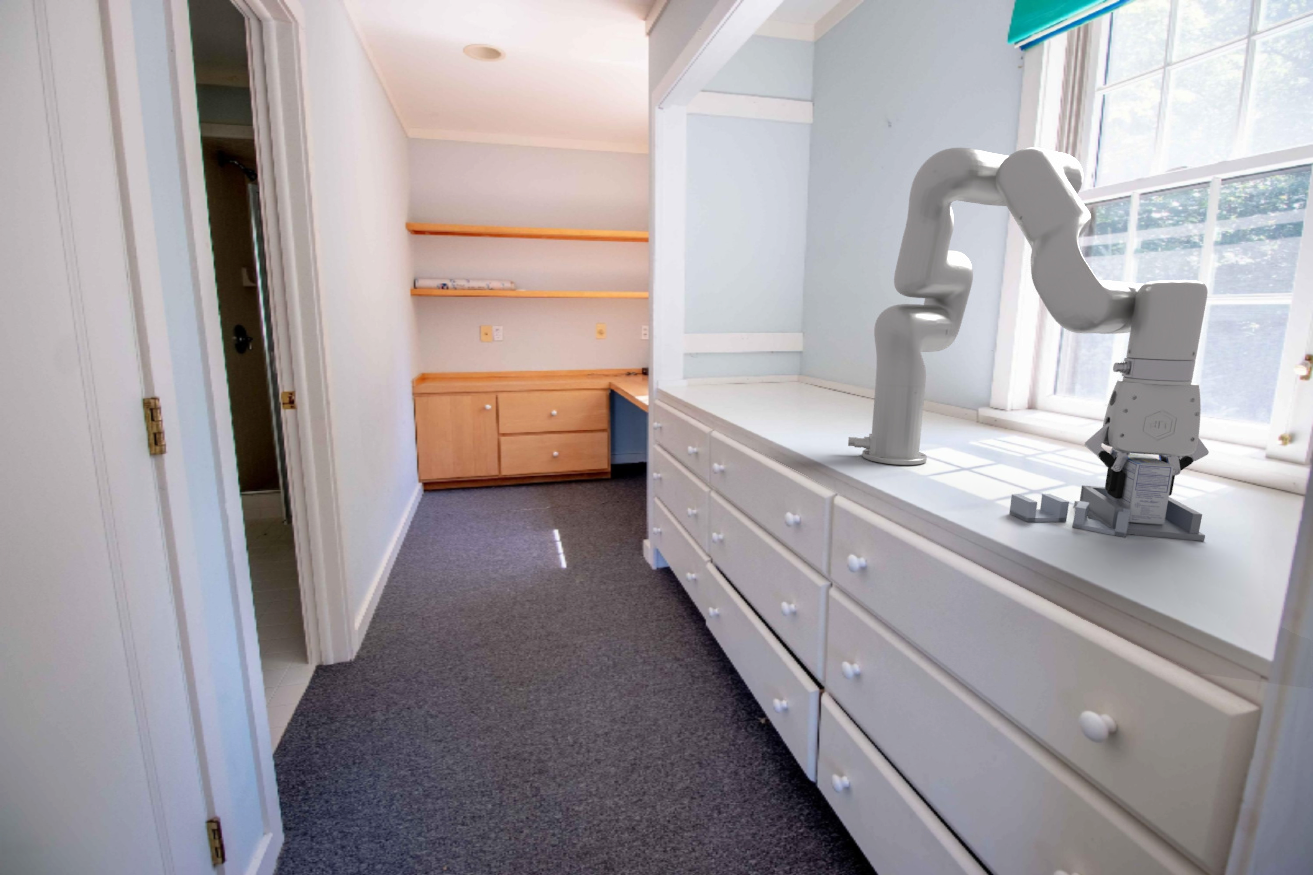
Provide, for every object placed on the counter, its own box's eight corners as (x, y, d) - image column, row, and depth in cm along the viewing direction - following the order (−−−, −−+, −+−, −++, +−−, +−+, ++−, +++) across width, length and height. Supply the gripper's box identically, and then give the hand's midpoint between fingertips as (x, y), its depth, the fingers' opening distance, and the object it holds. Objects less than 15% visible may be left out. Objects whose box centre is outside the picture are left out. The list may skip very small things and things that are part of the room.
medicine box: (1164, 526, 85) (1176, 465, 84) (1127, 523, 86) (1138, 462, 85) (1137, 510, 93) (1147, 454, 91) (1103, 507, 94) (1112, 451, 92)
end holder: (1108, 532, 85) (1112, 508, 84) (1074, 505, 97) (1077, 484, 97) (1204, 541, 82) (1208, 515, 81) (1156, 512, 94) (1159, 490, 94)
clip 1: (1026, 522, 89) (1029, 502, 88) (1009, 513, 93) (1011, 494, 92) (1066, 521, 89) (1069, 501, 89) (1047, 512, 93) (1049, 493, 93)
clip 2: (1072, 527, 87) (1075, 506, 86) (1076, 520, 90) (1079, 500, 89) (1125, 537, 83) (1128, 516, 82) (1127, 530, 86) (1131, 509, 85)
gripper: (1098, 372, 84) (1078, 499, 88) (1249, 376, 80) (1222, 511, 83) (1077, 368, 91) (1060, 486, 95) (1215, 372, 87) (1192, 496, 90)
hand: (1136, 496), depth 89 cm, fingers open, 4 cm apart
